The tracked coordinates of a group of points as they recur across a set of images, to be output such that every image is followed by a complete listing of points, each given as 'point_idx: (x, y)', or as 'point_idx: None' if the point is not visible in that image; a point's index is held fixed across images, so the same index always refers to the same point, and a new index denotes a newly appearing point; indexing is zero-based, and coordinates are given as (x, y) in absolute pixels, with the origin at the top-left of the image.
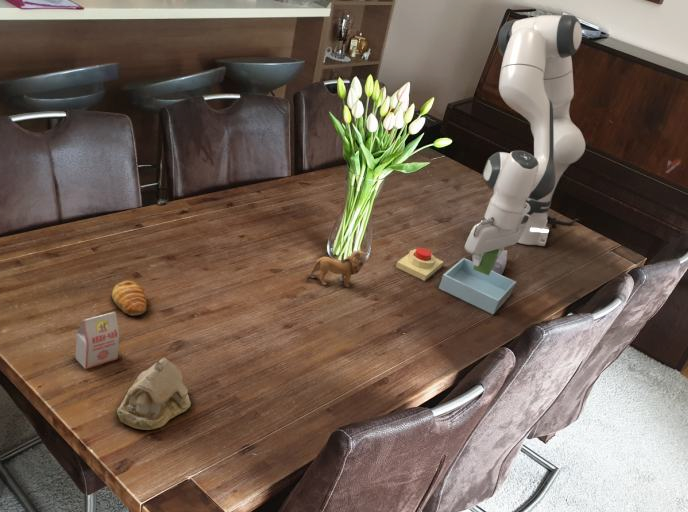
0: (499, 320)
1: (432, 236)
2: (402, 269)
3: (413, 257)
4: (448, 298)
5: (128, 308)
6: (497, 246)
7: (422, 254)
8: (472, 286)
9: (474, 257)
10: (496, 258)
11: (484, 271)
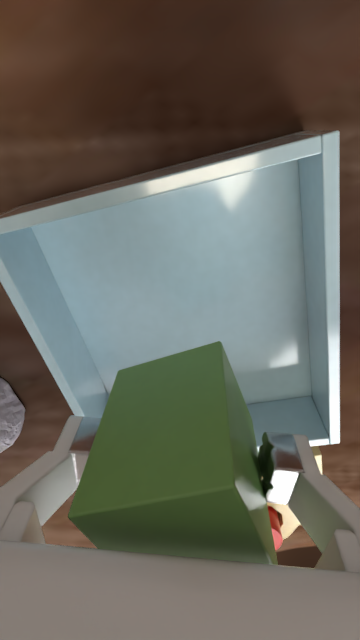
0: (333, 60)
1: (43, 532)
2: None
3: (292, 528)
4: (356, 336)
5: None
6: (184, 615)
7: (277, 536)
8: (183, 338)
9: (10, 444)
10: (80, 432)
11: (232, 378)
